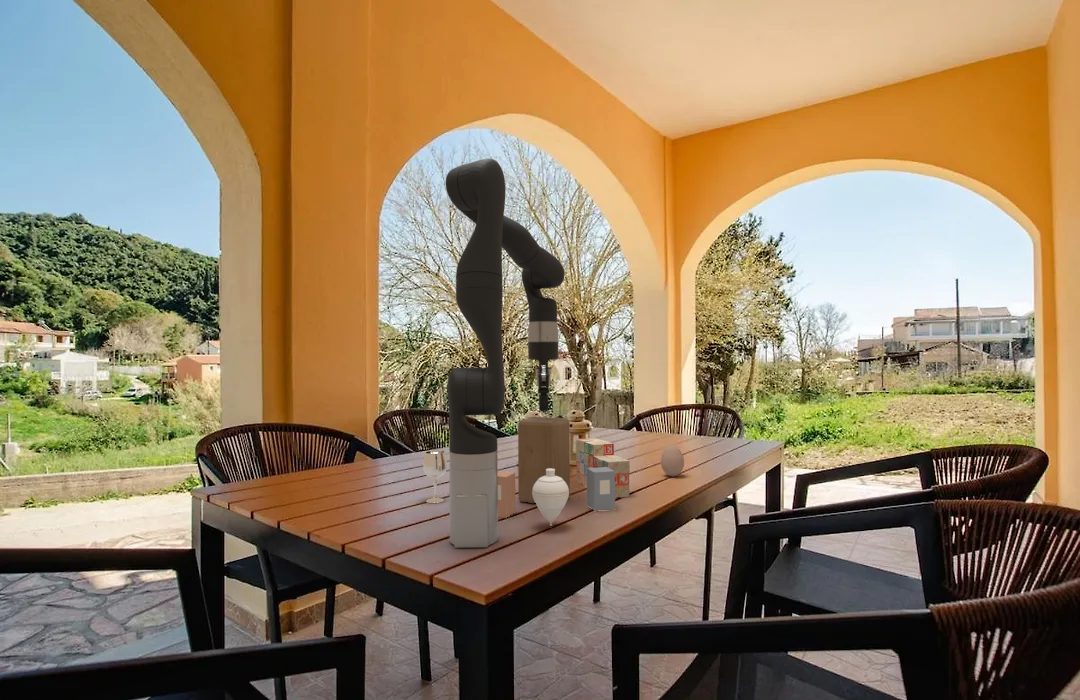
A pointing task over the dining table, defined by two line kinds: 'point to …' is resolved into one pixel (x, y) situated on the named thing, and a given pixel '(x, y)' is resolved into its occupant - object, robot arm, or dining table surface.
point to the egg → (672, 461)
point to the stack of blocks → (602, 463)
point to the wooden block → (542, 452)
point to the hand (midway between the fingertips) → (543, 410)
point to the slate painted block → (601, 488)
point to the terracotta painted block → (506, 493)
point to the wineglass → (435, 469)
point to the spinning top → (550, 495)
